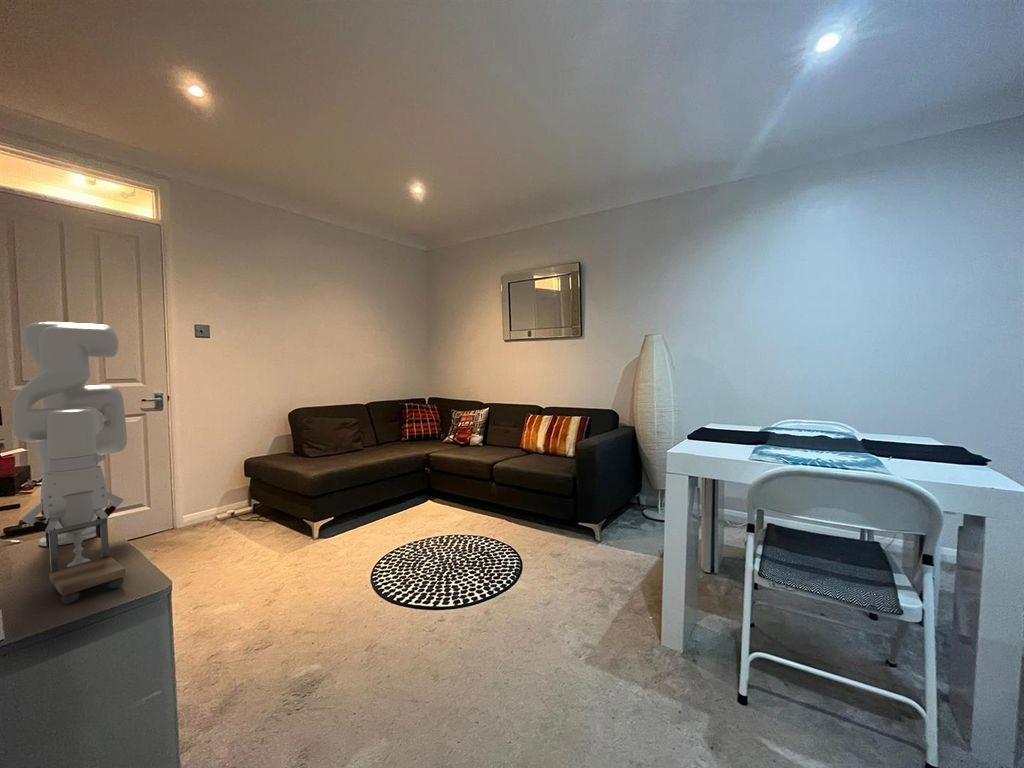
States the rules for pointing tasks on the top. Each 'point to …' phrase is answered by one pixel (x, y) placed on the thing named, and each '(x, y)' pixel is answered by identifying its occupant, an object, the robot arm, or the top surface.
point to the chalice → (77, 521)
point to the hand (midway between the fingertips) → (77, 541)
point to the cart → (83, 566)
